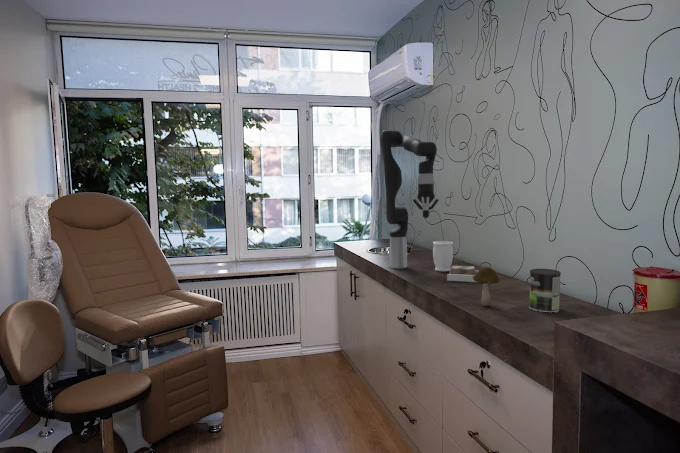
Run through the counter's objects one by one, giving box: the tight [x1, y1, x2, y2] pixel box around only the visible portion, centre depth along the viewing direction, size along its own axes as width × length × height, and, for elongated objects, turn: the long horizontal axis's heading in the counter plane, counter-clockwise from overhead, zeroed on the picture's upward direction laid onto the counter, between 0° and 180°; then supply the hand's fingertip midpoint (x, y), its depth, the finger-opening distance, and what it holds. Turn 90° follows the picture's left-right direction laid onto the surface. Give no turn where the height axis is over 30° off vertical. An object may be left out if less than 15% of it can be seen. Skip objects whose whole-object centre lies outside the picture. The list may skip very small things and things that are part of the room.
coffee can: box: [528, 268, 562, 314], centre depth 167 cm, size 10×10×14 cm
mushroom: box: [473, 266, 501, 307], centre depth 173 cm, size 9×11×15 cm
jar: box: [432, 240, 454, 272], centre depth 240 cm, size 11×10×15 cm
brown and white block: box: [450, 265, 476, 275], centre depth 221 cm, size 11×7×6 cm, turn 72°
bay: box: [446, 269, 479, 283], centre depth 220 cm, size 15×12×3 cm
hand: (426, 218), depth 226 cm, fingers closed
